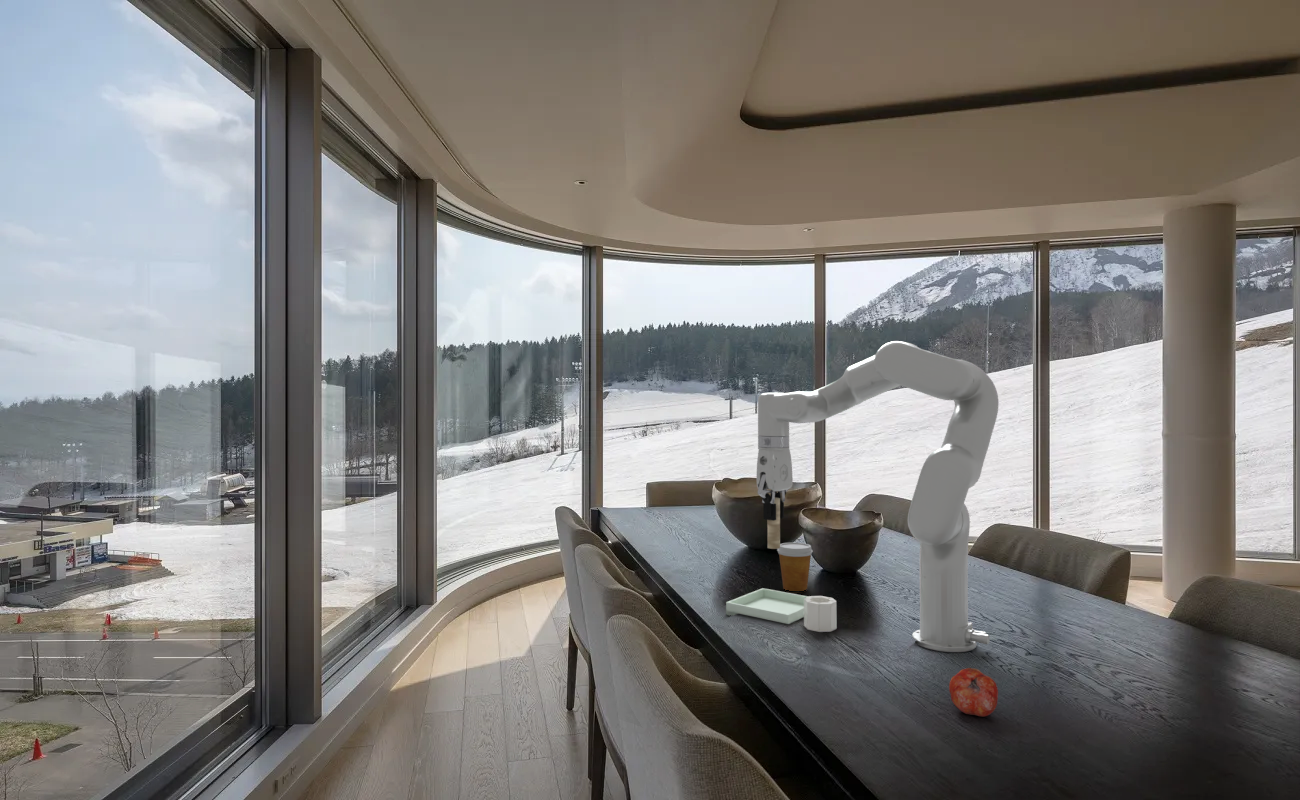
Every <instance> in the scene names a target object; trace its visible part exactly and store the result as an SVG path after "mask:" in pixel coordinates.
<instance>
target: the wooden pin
mask: <svg viewBox="0 0 1300 800" xmlns="http://www.w3.org/2000/svg"><path fill="white" fill-rule="evenodd" d="M774 504H776V520H774V521H773V520H766V521H767V522H766V523H767V525H766V526H767V549H771V550H777V549H779V548H780V544H781V518H780V498H775V502H774Z"/></svg>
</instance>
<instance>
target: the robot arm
mask: <svg viewBox="0 0 1300 800" xmlns="http://www.w3.org/2000/svg"><path fill="white" fill-rule="evenodd" d="M901 386H902V387H905V388H907V389H909V390H913V391H917V392H919V393H922V394H924V395H927V396H930V397H933V398H937V399H940V400H943V401H953V402H954V409H953V413H952V414H951V417H950V419H949V422H948V426H947V428H946V432H945V436H944V439H943V442H942V445H940V446H941V447H940V448H938V449H935V450H934V451H933V452H931V453H930V454H929V455H928V457H927V458H926V459H925V461H924V463H923V465H922V467H921V470H920V473H919V476H918V479H917V482H916V485H915V490H914V492H913V495H912V499H911V502H910V506H909V509H908V512H907V513H908V514H907V526H908V529H909V531H910V533H911V535H912V536H913V538H915V540H917V541H918V542H919V557H918V558H919V561H918V562H919V629H917V630H915V631H913V632H912V634H911V636H912V638H913V639H914V640H915V641H914V644H916V645H918V646H921V647H922V648H925V649H929V650H933V651H938V652H946V653H965V652H969V651H973V650H975V648H977V643H978V644H983V645H989V644H990V641H991V640H990V639H991V638H990V635H989V634H988V633H987V632H986V631H981V630H976V629H975V628H973V622H971V621H970V622H969V592H968V591H969V589H968V588H969V587H968V586H969V583H968V582H969V580H968V579H969V577H968V573H969V572H968V571H969V554H968V553H969V540H970V539H969V538H970V529H971V527H970V526H971V525H970V524H971V521H970V520H971V519H970V514H969V510H968V508H967V506H966V504H965V501H966V499H967V495H968V493H969V489H970V488H972V487H973V486H975V485H976V484H977V483H978V481H979V479H980V478H981V474H982V469H983V467H984V462H985V459H986V457H987V452H988V449H989V446H990V442H991V439H992V435H993V431H994V428H995V424H996V420H997V417H998V413H999V395H998V391H997V388H996V386H995V384H994V382H993V380H992V379H991V377H990V376H989V375H988V374H987V373H986V372H985V371H984V370H983V369H982V368H981V367H979V366H978V365H976V364H974V363H972V362H971V361H968V360H965V359H958V358H952V357H948V356H945V355H942V354H939V353H936V352H932V351H929V350H927V349H923V348H920V347H919V346H917V345H916V344H913V343H911V342H906V341H901V340H900V341H899V340H893V341H892V340H891V341H890V342H886V343H885V344H883V345H882V346H881V347H879V349H878V350H877V351H876V352H875V354H874V355H872V356H870V357H867V358H865V359H863V360H861V361H859V362H856V363H854V364H852V365H849V366H848V367H847V368H846V369H845V370H844V373H843V374H842V376H840V377H839V378H838V379H837V380H835V381H832V382H830V383H829V384H827V385H825V386H822V387H820V388H818V389H815V390H813V391H809V390H808V391H807V390H806V391H805V390H804V391H792V392H785V393H784V392H762V393H760V394H759V396H758V398H757V449H758V452H757V461H756V487H757V495H759V497H760V498H761V499H762V501H761V503H762V504H763V505H762V506H763V519H764V520H766V521H767V520H773V521H774V520H776V504H774V502H775V498H780V520H782V519H784V517H785V501H786V497H785V496H786V494H787V493H788V491H789V489H790V490H791V488H792V487H793V483H794V481H793V463H792V455H791V449H790V424H791V423H793V424H806V423H807V424H808V423H818V422H821V421H823V420H826V419H829V418H832V417H835V416H836V415H839V414H841V413H843V412H846V411H847V410H849V409H851V408H853V407H855V406H858V405H860V404H862V403H863V402H866V401H868V400H870V399H873V398H875V397H877V396H879V395H881V394H884V393H886V392H889V391H891V390H894V389H896V388H899V387H901Z"/></svg>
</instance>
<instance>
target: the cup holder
mask: <svg viewBox="0 0 1300 800" xmlns="http://www.w3.org/2000/svg"><path fill="white" fill-rule="evenodd" d="M837 619H838V618H837V600H836V599H834V598H833V597H829V596H823V595H811V596H810V595H809V596H808V597H807V598H804V617H803V626H804V628H806V630H808V631H814V632H819V633H823V632H827V633H828V632H829V633H830V632H833V631H835V630H837V628H838V627H837Z"/></svg>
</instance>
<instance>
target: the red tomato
mask: <svg viewBox="0 0 1300 800" xmlns="http://www.w3.org/2000/svg"><path fill="white" fill-rule="evenodd" d="M948 685H949V686H948V689H949V690H948V691H949V694H950V699H951V702H952V703H953V705H954V706H955V707H956V708H957V709H958V710H959V711H960V712H962V713H964V714H966V715H971V716H978V717H988V716H989V715H991V714H992V713H994V711H995V710H996V708H997V705H998V699H999V697H998V696H999V689H998V686H997V683H996V681H995V680H994V679H993V678H992V677H991V676H988V675H986V674H984V673H983V672H981V670H980V669H977V668H971V667H968V668H962V669H960V670H959V672H957V673H956V674H955V675H953V676H952V677H951V678H950V680H949V684H948Z"/></svg>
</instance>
